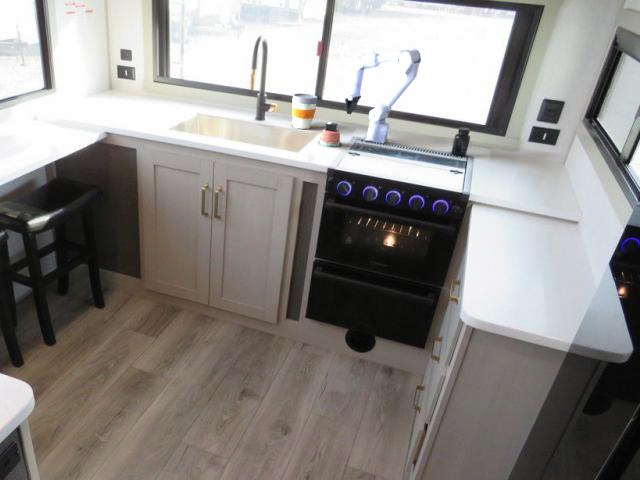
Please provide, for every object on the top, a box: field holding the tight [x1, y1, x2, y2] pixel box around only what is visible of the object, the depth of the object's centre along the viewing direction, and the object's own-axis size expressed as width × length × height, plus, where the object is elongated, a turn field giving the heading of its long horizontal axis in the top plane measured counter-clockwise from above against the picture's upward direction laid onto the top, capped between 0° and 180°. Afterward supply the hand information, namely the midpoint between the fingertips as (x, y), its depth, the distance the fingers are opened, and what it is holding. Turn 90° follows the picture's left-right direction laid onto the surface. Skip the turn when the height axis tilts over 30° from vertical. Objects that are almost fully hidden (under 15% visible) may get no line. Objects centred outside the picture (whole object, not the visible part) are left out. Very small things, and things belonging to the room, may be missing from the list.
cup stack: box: [319, 127, 341, 148], centre depth 272 cm, size 9×9×6 cm
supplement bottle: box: [450, 127, 471, 157], centre depth 267 cm, size 7×7×12 cm
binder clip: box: [324, 121, 339, 132], centre depth 269 cm, size 5×3×3 cm, turn 68°
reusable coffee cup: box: [291, 93, 318, 130], centre depth 291 cm, size 12×13×15 cm
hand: (350, 112), depth 284 cm, fingers open, 7 cm apart
